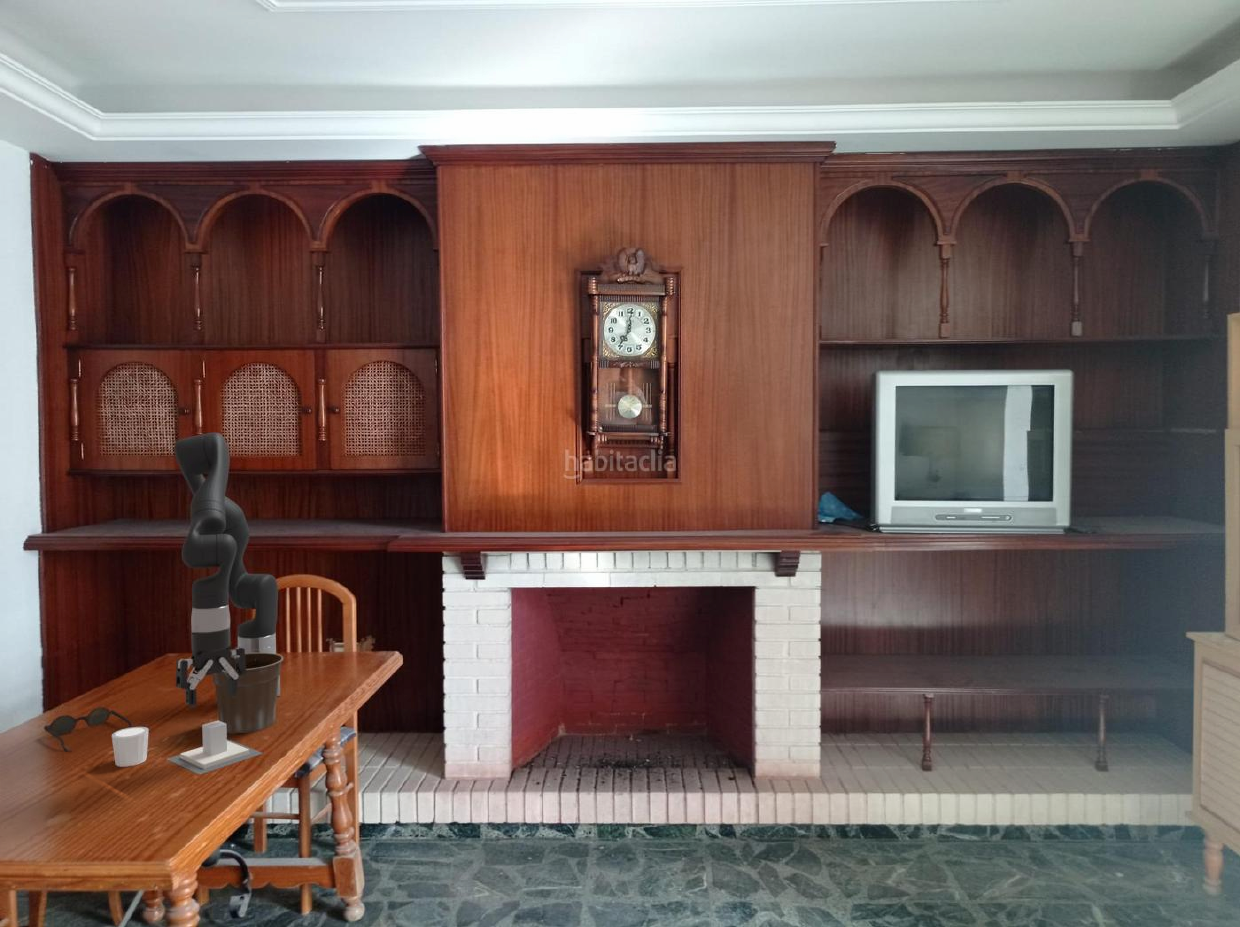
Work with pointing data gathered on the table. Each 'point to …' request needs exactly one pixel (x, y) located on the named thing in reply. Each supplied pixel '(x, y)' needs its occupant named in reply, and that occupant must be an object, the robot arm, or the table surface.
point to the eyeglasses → (69, 723)
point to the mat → (200, 771)
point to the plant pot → (250, 694)
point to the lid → (214, 747)
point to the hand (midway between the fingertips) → (212, 700)
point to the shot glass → (130, 746)
